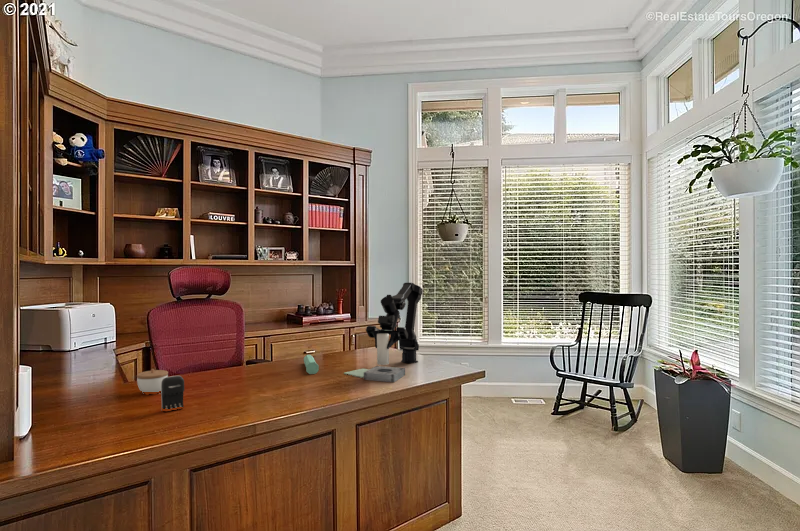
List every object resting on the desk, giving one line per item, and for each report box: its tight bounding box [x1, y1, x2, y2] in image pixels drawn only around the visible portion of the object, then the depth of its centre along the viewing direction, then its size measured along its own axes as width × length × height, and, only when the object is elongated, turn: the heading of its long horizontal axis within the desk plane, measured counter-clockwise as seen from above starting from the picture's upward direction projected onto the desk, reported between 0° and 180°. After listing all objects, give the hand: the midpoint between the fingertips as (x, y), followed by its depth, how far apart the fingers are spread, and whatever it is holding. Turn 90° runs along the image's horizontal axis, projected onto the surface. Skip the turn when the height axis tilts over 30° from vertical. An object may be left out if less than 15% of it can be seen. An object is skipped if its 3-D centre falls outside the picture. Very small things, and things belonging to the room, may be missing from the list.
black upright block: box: [160, 375, 185, 409], centre depth 160 cm, size 7×4×11 cm, turn 129°
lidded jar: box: [136, 368, 169, 393], centre depth 182 cm, size 11×11×9 cm
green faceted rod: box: [303, 354, 320, 375], centre depth 225 cm, size 6×6×25 cm
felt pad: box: [343, 368, 370, 379], centre depth 213 cm, size 12×12×1 cm
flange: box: [363, 365, 406, 383], centre depth 206 cm, size 14×14×3 cm
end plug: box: [376, 333, 390, 366], centre depth 206 cm, size 5×5×13 cm
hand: (381, 348), depth 205 cm, fingers closed on end plug, 5 cm apart
